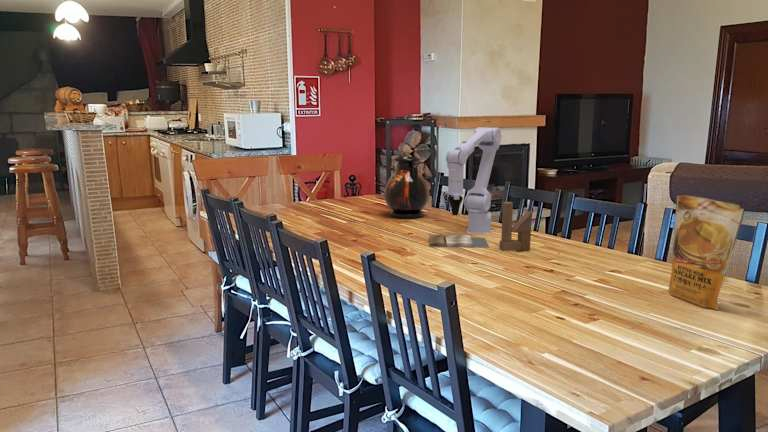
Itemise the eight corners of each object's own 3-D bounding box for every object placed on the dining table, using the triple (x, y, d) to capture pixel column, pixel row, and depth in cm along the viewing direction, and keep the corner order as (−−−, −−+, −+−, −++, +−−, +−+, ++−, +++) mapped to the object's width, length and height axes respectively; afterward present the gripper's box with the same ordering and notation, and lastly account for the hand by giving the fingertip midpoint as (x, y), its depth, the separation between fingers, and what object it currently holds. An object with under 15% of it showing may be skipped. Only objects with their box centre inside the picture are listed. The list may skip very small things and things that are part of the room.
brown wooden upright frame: (530, 250, 211) (532, 202, 207) (503, 252, 208) (505, 203, 205) (525, 248, 214) (527, 200, 211) (498, 250, 212) (500, 201, 208)
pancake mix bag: (676, 288, 167) (685, 193, 162) (734, 310, 149) (747, 203, 144) (657, 291, 165) (666, 194, 159) (715, 313, 147) (727, 205, 142)
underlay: (484, 239, 229) (484, 237, 228) (489, 249, 213) (489, 247, 213) (429, 238, 230) (429, 237, 230) (429, 248, 214) (429, 246, 214)
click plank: (469, 238, 228) (469, 235, 228) (472, 246, 214) (473, 243, 214) (445, 237, 228) (445, 234, 228) (446, 246, 215) (446, 243, 214)
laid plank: (444, 237, 228) (444, 235, 228) (446, 246, 215) (446, 243, 214) (429, 237, 229) (429, 234, 229) (429, 246, 215) (429, 243, 215)
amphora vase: (377, 213, 283) (376, 156, 277) (415, 210, 292) (416, 155, 286) (396, 221, 263) (396, 160, 258) (437, 217, 272) (438, 158, 267)
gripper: (444, 178, 231) (444, 211, 234) (446, 183, 217) (445, 218, 220) (462, 178, 231) (461, 211, 233) (465, 183, 217) (464, 218, 219)
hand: (455, 215), depth 226 cm, fingers closed
